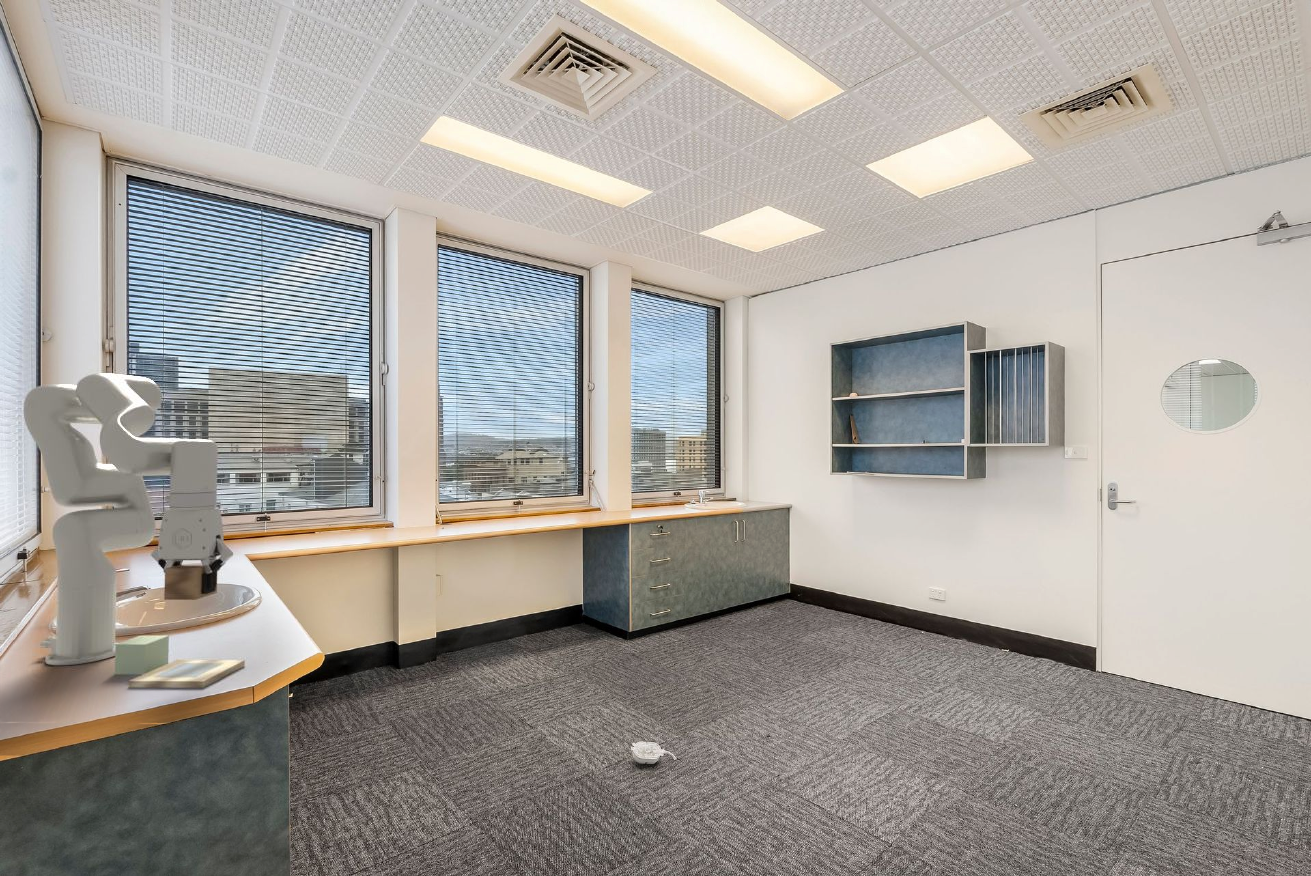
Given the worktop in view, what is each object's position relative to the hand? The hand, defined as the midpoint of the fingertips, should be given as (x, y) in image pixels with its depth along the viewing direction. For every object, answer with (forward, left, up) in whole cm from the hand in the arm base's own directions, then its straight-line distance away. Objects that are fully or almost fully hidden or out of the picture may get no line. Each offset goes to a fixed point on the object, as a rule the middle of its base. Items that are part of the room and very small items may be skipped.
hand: (191, 591), depth 124 cm
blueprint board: (0, 0, -17) cm, 17 cm away
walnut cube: (0, 0, -1) cm, 1 cm away
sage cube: (-13, +4, -17) cm, 21 cm away
